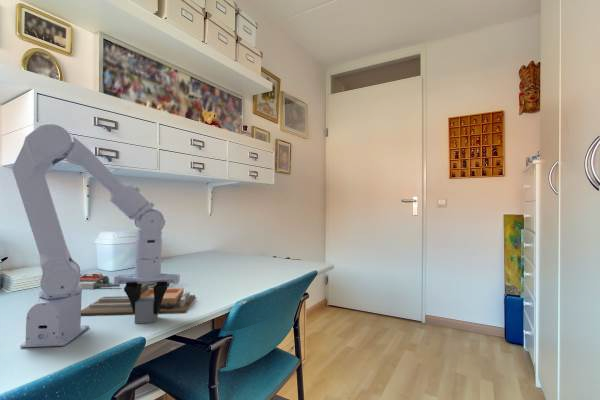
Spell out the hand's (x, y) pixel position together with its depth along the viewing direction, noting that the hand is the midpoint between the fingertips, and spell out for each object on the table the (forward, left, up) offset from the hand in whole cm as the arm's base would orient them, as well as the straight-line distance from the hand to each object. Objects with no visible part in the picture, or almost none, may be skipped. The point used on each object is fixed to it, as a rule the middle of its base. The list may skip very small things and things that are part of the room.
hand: (146, 313), depth 75 cm
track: (+12, +5, -2) cm, 13 cm away
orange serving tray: (+12, 0, -2) cm, 12 cm away
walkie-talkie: (+34, +28, -2) cm, 44 cm away
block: (0, 0, -2) cm, 2 cm away
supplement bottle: (+33, +10, -2) cm, 34 cm away
